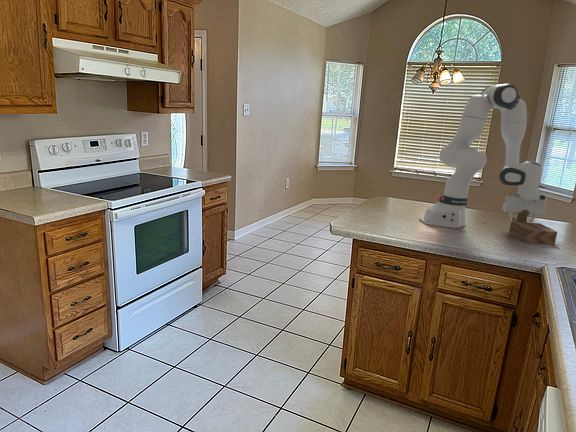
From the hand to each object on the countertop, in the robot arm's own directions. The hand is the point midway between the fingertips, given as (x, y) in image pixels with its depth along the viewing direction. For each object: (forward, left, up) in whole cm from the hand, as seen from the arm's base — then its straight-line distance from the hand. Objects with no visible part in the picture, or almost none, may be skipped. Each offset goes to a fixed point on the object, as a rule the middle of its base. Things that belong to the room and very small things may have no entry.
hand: (521, 221), depth 211 cm
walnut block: (-2, -14, -5) cm, 15 cm away
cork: (0, 0, -5) cm, 5 cm away
